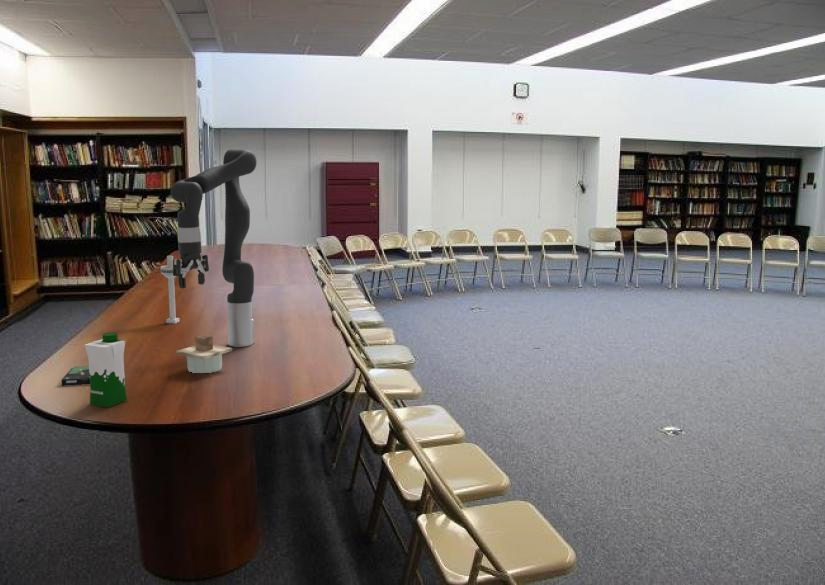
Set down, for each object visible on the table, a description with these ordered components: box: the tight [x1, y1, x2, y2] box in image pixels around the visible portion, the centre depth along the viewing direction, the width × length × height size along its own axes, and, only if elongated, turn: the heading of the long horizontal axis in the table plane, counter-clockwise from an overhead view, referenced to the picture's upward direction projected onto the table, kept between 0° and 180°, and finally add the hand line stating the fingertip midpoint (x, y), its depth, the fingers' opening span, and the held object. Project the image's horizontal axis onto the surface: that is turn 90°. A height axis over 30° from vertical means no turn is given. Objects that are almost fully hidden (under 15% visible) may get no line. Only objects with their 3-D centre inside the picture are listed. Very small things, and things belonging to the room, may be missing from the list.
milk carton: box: [84, 332, 128, 409], centre depth 192 cm, size 9×9×20 cm
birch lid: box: [175, 334, 233, 359], centre depth 227 cm, size 13×13×6 cm
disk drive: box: [61, 365, 90, 387], centre depth 216 cm, size 10×3×15 cm
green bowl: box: [186, 354, 223, 374], centre depth 228 cm, size 11×11×6 cm
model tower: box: [160, 255, 180, 324], centre depth 296 cm, size 8×8×30 cm
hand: (192, 286), depth 234 cm, fingers open, 8 cm apart
